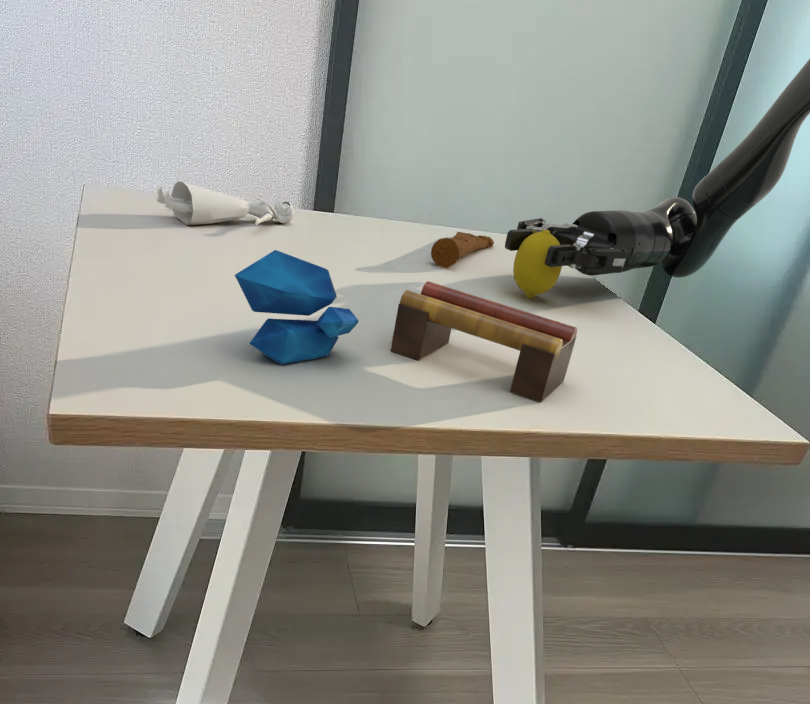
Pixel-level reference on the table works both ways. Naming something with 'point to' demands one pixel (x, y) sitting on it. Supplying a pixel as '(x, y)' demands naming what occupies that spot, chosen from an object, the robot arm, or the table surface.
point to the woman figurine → (219, 206)
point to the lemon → (535, 264)
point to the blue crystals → (293, 308)
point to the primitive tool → (457, 247)
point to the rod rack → (486, 334)
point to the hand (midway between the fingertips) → (528, 248)
